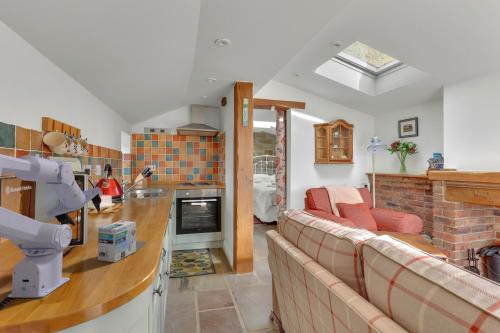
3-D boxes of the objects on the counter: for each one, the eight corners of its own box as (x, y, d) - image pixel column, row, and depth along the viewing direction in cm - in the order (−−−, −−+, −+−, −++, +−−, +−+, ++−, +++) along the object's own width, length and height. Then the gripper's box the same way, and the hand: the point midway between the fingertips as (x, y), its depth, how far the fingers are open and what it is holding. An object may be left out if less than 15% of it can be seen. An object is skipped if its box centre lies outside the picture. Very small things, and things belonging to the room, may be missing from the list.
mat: (134, 252, 89) (134, 251, 89) (108, 252, 88) (108, 251, 88) (146, 242, 101) (146, 241, 101) (124, 242, 100) (124, 241, 100)
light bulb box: (115, 263, 79) (115, 229, 78) (96, 260, 80) (97, 227, 80) (136, 251, 89) (137, 221, 89) (120, 249, 91) (120, 219, 90)
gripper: (89, 172, 77) (103, 197, 87) (34, 196, 69) (57, 221, 79) (99, 185, 74) (112, 210, 84) (43, 213, 66) (65, 236, 76)
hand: (86, 216), depth 82 cm, fingers open, 7 cm apart
